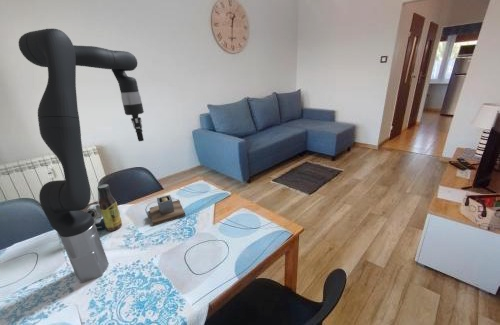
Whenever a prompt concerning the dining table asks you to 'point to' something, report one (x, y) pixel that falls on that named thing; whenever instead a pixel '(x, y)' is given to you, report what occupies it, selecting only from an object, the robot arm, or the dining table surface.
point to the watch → (96, 216)
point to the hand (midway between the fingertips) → (140, 138)
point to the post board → (159, 218)
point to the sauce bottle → (109, 208)
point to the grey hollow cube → (165, 205)
